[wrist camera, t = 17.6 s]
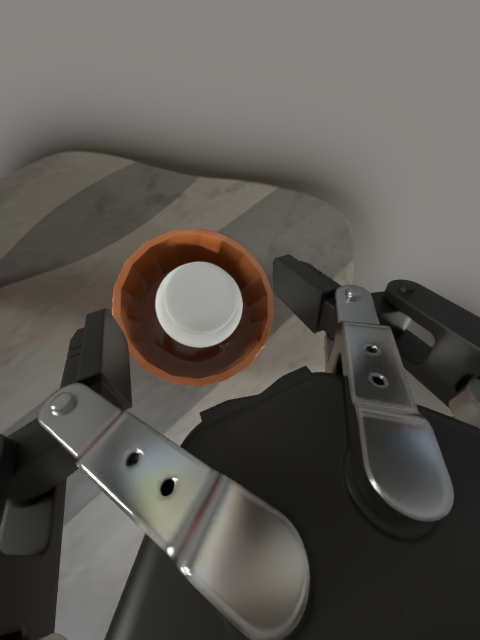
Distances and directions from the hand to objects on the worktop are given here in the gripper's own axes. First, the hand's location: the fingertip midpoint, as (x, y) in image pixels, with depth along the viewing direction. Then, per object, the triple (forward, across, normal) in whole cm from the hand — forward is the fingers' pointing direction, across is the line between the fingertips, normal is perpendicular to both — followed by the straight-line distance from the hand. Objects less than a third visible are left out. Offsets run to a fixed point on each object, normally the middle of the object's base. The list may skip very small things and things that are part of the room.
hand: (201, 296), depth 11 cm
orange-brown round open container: (+9, 0, +8) cm, 12 cm away
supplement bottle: (+8, 0, +8) cm, 11 cm away
